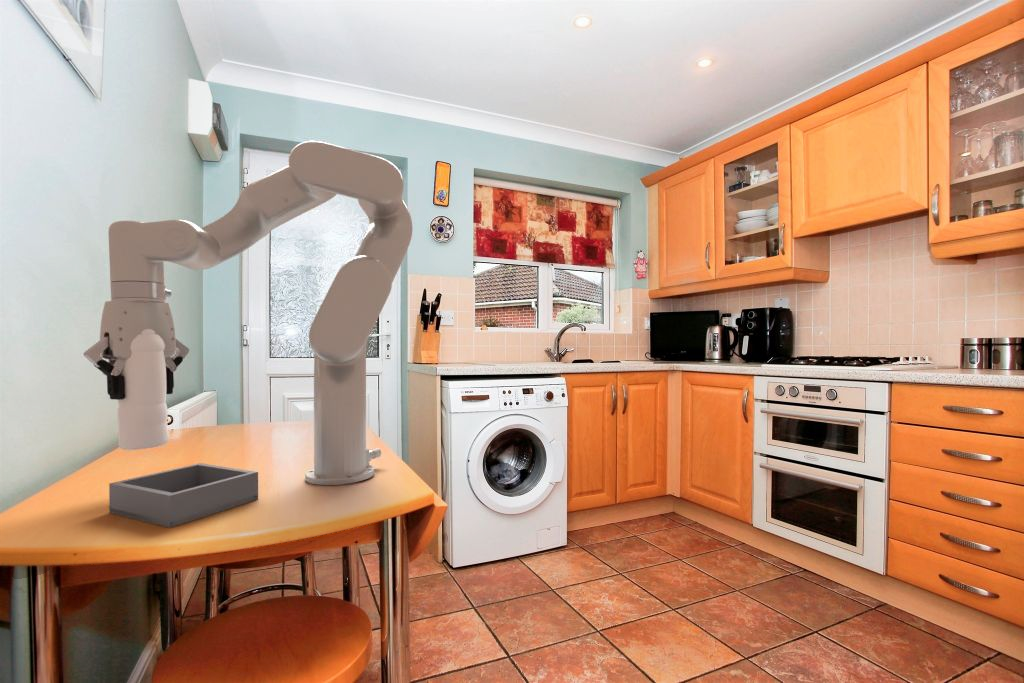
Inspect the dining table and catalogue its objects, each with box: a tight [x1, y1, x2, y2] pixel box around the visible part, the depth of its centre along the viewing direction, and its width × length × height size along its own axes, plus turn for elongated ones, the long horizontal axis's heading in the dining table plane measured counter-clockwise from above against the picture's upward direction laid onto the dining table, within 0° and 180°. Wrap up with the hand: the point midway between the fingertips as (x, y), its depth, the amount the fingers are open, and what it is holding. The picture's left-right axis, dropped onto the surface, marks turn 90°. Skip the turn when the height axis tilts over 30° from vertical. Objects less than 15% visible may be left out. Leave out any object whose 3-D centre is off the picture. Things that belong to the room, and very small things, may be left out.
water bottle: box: [117, 329, 170, 451], centre depth 87 cm, size 7×7×25 cm
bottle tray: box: [108, 462, 259, 529], centre depth 79 cm, size 14×15×4 cm
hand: (142, 395), depth 87 cm, fingers closed on water bottle, 7 cm apart
